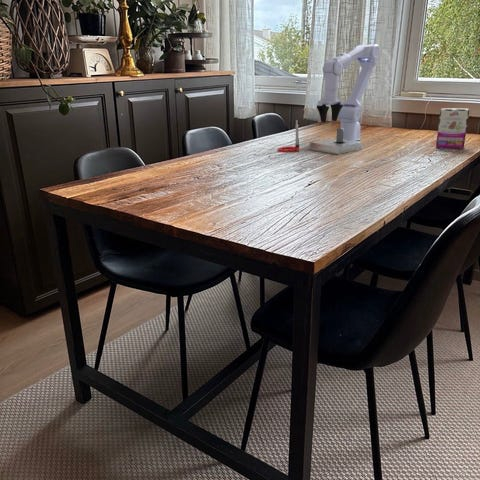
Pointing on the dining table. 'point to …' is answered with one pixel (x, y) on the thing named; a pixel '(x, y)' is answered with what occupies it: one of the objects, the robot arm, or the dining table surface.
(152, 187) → the dining table surface
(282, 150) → the tow hook
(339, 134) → the pin
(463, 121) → the candy bar box
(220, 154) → the dining table surface
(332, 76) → the robot arm
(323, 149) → the bore block
